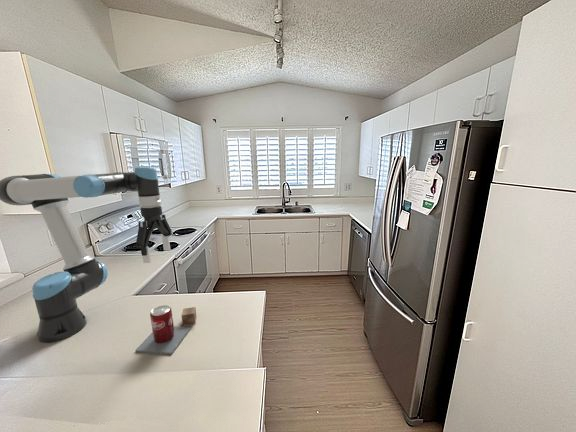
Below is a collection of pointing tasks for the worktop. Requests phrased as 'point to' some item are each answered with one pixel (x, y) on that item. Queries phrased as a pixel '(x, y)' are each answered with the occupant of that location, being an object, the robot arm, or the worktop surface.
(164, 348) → the coaster
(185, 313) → the walnut block
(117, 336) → the worktop surface
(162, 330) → the soda can
